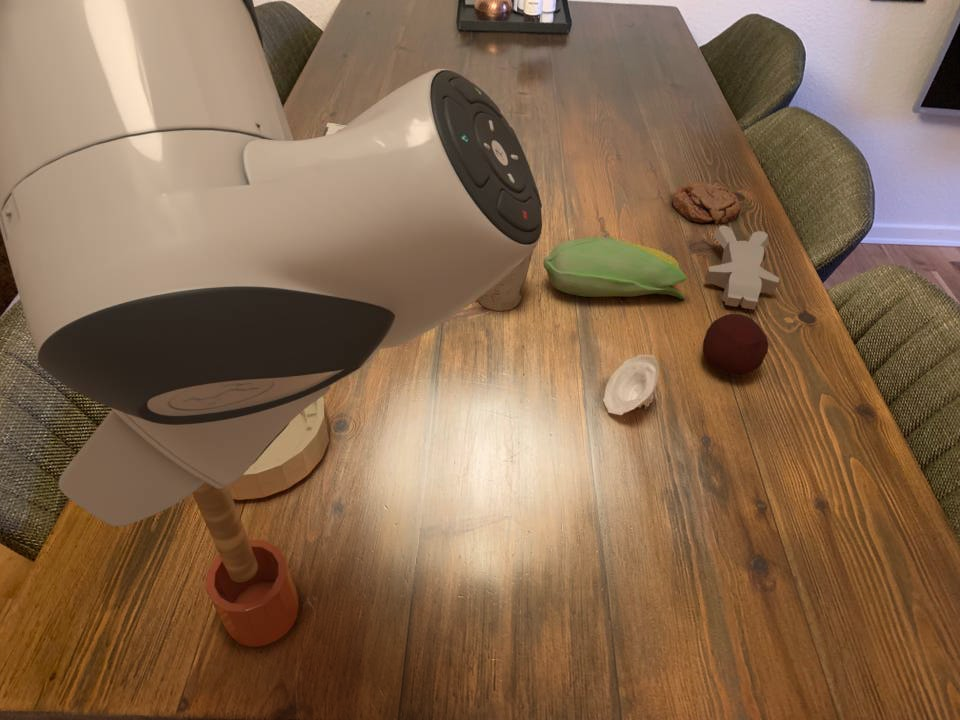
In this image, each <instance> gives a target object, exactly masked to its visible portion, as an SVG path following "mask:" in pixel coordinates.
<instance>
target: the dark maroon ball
mask: <svg viewBox="0 0 960 720" xmlns="http://www.w3.org/2000/svg"><path fill="white" fill-rule="evenodd" d="M768 351H769V342H768V337H767V335H766V333H765V332H764V331H763V329H762V327H760V325H759V324H758V323H757V322H756V321H755V320H753V318H751V317H750V316H747V315H745V314H741V313H729V314H728V313H727V314H725V315H723V316H721V317H719V318H716V319H715V320H713V321H712V323H711V324H710V325H709V327H708V328H707V330H706V332H705V335H704V338H703V341H702V354H703V356H704V360H705V361H706V362H707V363H708V365H709V366H710V367H712V368H714V369H715V370H717V371H719V372H721V373H724V374H727V375H729V376H736V377H740V376H746V375H750V374H751V373H753V372H755V371H756V370H757V369H758V368H759V367H760V366H761V365H762V364H763V361H764V360H765V358H766V356H767V354H768Z"/></svg>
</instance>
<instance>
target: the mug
mask: <svg viewBox="0 0 960 720" xmlns="http://www.w3.org/2000/svg"><path fill="white" fill-rule="evenodd" d="M533 252H534V250H533V251H532V252H531V253H530V255H529V256H528V257H527V258H526V259H525V260H524V261H523V262H522V263H521V264H520V265H519V266H518V267H517V268H516V269H514V270H513V271H512V272H511V273H510V274H509V275H508V276H506V277H505V278H504V279H503V280H502V281H500V282H499V283H498V284H497V285H496V286H494V287H493V288H492V289H490V290H489V291H488V292H486V293H485V294H484V295H483V296H481V297H480V298H478V299H477V300H478V303H479V304H480V305H481V306H482V307H484V308H485V309H488V310H490V311H494V312H505V311H510V310H513V309H514V308H515V307H517V306H518V305H519V303H520V302H521V299H522V296H523V292H524V288H525V284H526V281H527V276H528V274H529V273H528V272H529V269H530V265H531V261H532V257H533Z"/></svg>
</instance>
